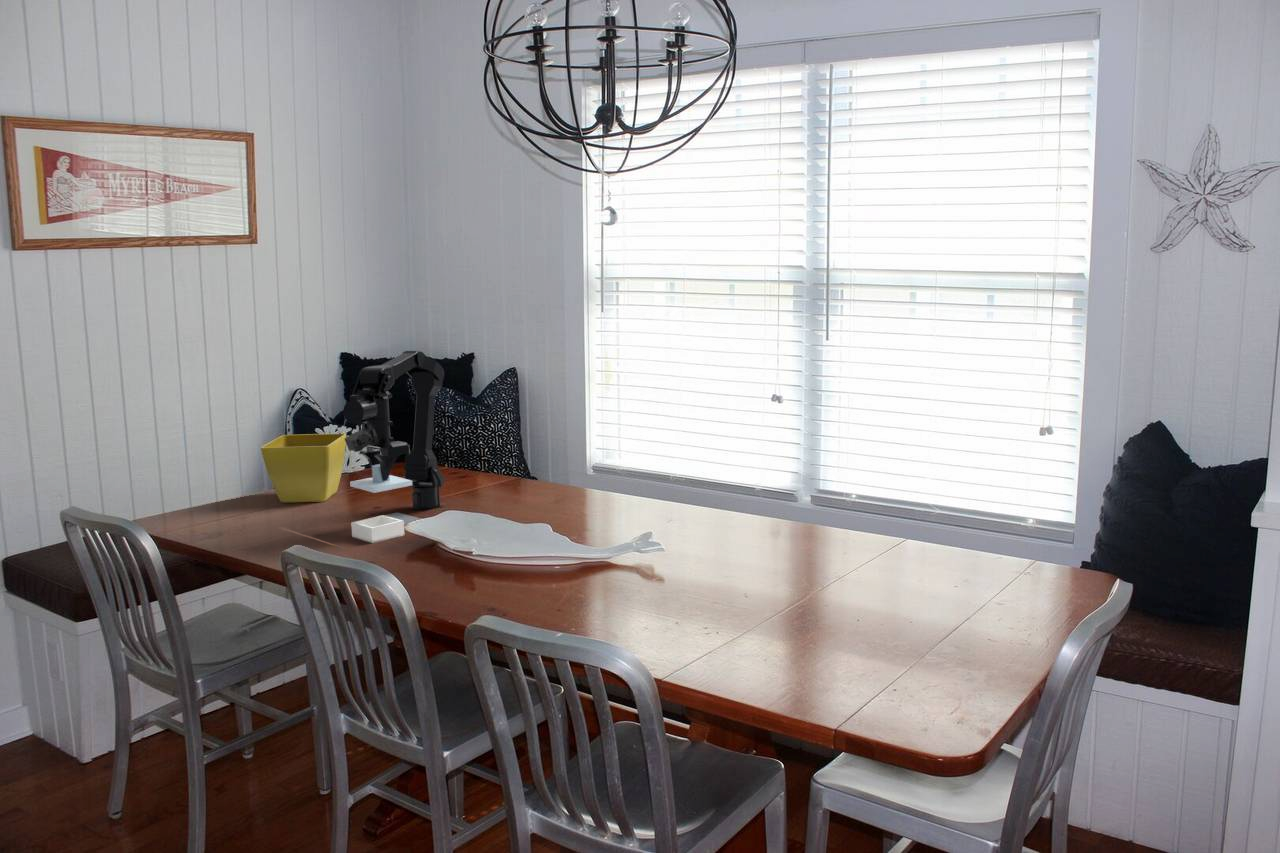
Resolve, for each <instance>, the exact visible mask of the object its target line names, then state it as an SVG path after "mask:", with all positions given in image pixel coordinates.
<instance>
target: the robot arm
mask: <svg viewBox="0 0 1280 853" xmlns="http://www.w3.org/2000/svg"><path fill="white" fill-rule="evenodd" d="M404 374H407V375H408V376H409V377H410V379H411V381H410V382H411V384H410V385H411V386H412V388H413V391H414V392H415V395H416V401H415V414H414V416H415V417H414V430H413V443H412V450H411V449H410V444H408V442H405V441H400V440H397V441H396V440H395V437H391V427H392V426H393V427H394V422H393V421H392V420H390V407H389V406H390V405H389V403H390V402H389V399H391V398H393V394H392V393H391V392H389V391H388V390H390V389H391V388H392V386H394V385H395V380H396V379H398V378H399V377H401V376H403V375H404ZM444 378H445V369H444V367H443V366H442V365H441V364H440V363H439V362H438V361H437V360H436V359H433V358H431V357H429V356H427V355H426V354H425V353H424V352H423V351H421V350H405V351H403V352H402V353H401V354H399V355H398V356H397V355H396V356H395V357H393V358H391V359H390V360H388V361H386V362H384V363H382V364H380V365H372V366H371V365H370V366H366V367H363V368H361V370H360V371H359V373H358V376H357V379H356V382H355V385H354V389H353V391H352V394H351V395H349V400H348V401H347V402H346V403H345V404H344V406H343V410H342V413H343V417H344V418H345V420H346V421H347V422H348V423H350V424H352V425H355V424H360V423H362V424H361V429H360V430H357V431H355V432H353V433H351V434H350V435H348V436H346V438H345V442H346V446H347V449H348V451H349V452H351V451H353V452H355V453H357V452H358V453H359V454H360V455H362V456H363V457H364V458H366V460H367V461H368V464H369V466H370V469H371V470H372V465H378V464H380V469H381V475H382V480H383V481H386V480H387V479H388V477H389V475H391V472H392V470H393V467H394V465H395V463H396V461H397V459H398V457H399V456H402V455H405V456H404V466H403V475H404V479H408V480H412V485H411V486H407V487H408V488H412V493H411V498H412V506H410V508H411V509H414V510H418V511H422V512H428V511H431V510H436V509H439V508H444V505H443V504H441V501H440V500H441V499H440V488H442V487H443V486H444V483H445V476H444V474H443V473H442V472H441V471H440V469H439V468H438V460H437V457H436V455H435V453H434V451H433V436H434V424H435V422H434V420H435V405H436V396H437V395H438V393H439V392H440V391H441V389H442V387H443V382H444Z"/></svg>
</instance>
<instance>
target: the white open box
mask: <svg viewBox="0 0 1280 853" xmlns="http://www.w3.org/2000/svg"><path fill="white" fill-rule="evenodd" d="M350 523H351V524H350V526H351V536H352V538H354V539H358V540H362V541H363V542H367V543H371V544H374V543H375V544H376V543H379V542H383V541H386V540H390V539H391V540H392V539H394V538H399V537H403V536H405V525H404V521H403V520H399V519H396V518H392V517H388V516H384V514H382V515H378V516H372V517H369V518H364V519H360V520H354V521H352V522H350Z"/></svg>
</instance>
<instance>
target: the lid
mask: <svg viewBox="0 0 1280 853" xmlns="http://www.w3.org/2000/svg"><path fill="white" fill-rule="evenodd" d="M371 476H372V477H368V478H367V477H366V478H363V479H358V480H351V481H350V482H349V486H350V487H351V488H355V489H358V490H363V491H366V492H369V493H373V494H374V493H380V492H385V491H391V490H395V489H401V488H406V487H408V486H411V485H412V480H408V479H405V477H404V478H403V477H399V476H395V475H392V474H390V475H389V477H388V479H387V480H386V481H383V480H382V475H381V469H380V464H378V465H372V469H371Z"/></svg>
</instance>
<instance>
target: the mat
mask: <svg viewBox="0 0 1280 853" xmlns="http://www.w3.org/2000/svg"><path fill="white" fill-rule="evenodd" d="M383 515H384V514H383ZM384 516H388V517H392V518H396V519H399V520H403V521H404V526H407V525H406V524H408V523H410V522H413V521H416V520H420V519H422V518H420V517H416V516H412V515H408V514H404V513H401V512H393V513H389V514H386V515H384ZM408 525H409V524H408Z"/></svg>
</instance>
